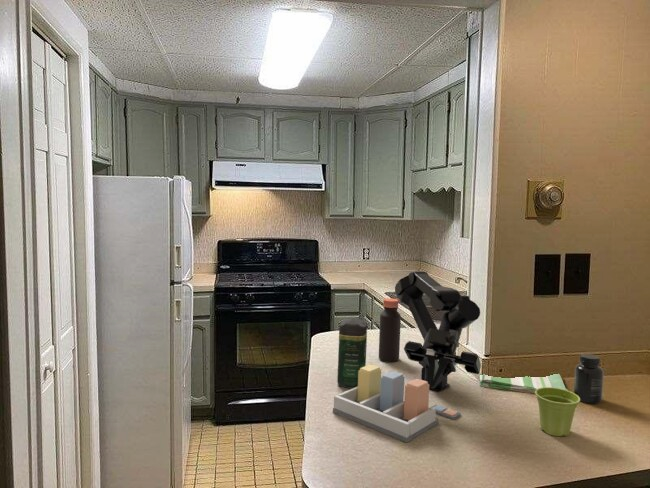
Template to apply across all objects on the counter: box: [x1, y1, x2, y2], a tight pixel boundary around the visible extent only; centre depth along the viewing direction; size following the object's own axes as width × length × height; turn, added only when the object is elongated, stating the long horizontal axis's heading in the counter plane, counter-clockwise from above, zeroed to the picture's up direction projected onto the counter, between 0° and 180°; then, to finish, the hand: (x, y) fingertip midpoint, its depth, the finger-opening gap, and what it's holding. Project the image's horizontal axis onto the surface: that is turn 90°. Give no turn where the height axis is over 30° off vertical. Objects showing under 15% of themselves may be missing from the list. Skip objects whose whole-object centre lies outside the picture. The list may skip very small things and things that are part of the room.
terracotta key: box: [404, 378, 430, 421], centre depth 116 cm, size 4×5×9 cm
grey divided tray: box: [332, 386, 440, 443], centre depth 119 cm, size 22×14×4 cm, turn 47°
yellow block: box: [358, 363, 382, 402], centre depth 126 cm, size 4×5×9 cm
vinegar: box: [378, 297, 402, 363], centre depth 162 cm, size 7×7×20 cm
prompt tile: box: [428, 404, 462, 420], centre depth 123 cm, size 7×4×1 cm, turn 47°
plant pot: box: [534, 387, 581, 437], centre depth 114 cm, size 9×9×9 cm
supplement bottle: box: [573, 353, 605, 405], centre depth 133 cm, size 7×7×12 cm
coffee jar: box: [336, 317, 368, 389], centre depth 141 cm, size 10×8×19 cm
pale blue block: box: [380, 371, 405, 411], centre depth 121 cm, size 4×5×9 cm
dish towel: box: [479, 373, 569, 394], centre depth 146 cm, size 18×23×3 cm
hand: (432, 387), depth 121 cm, fingers closed
